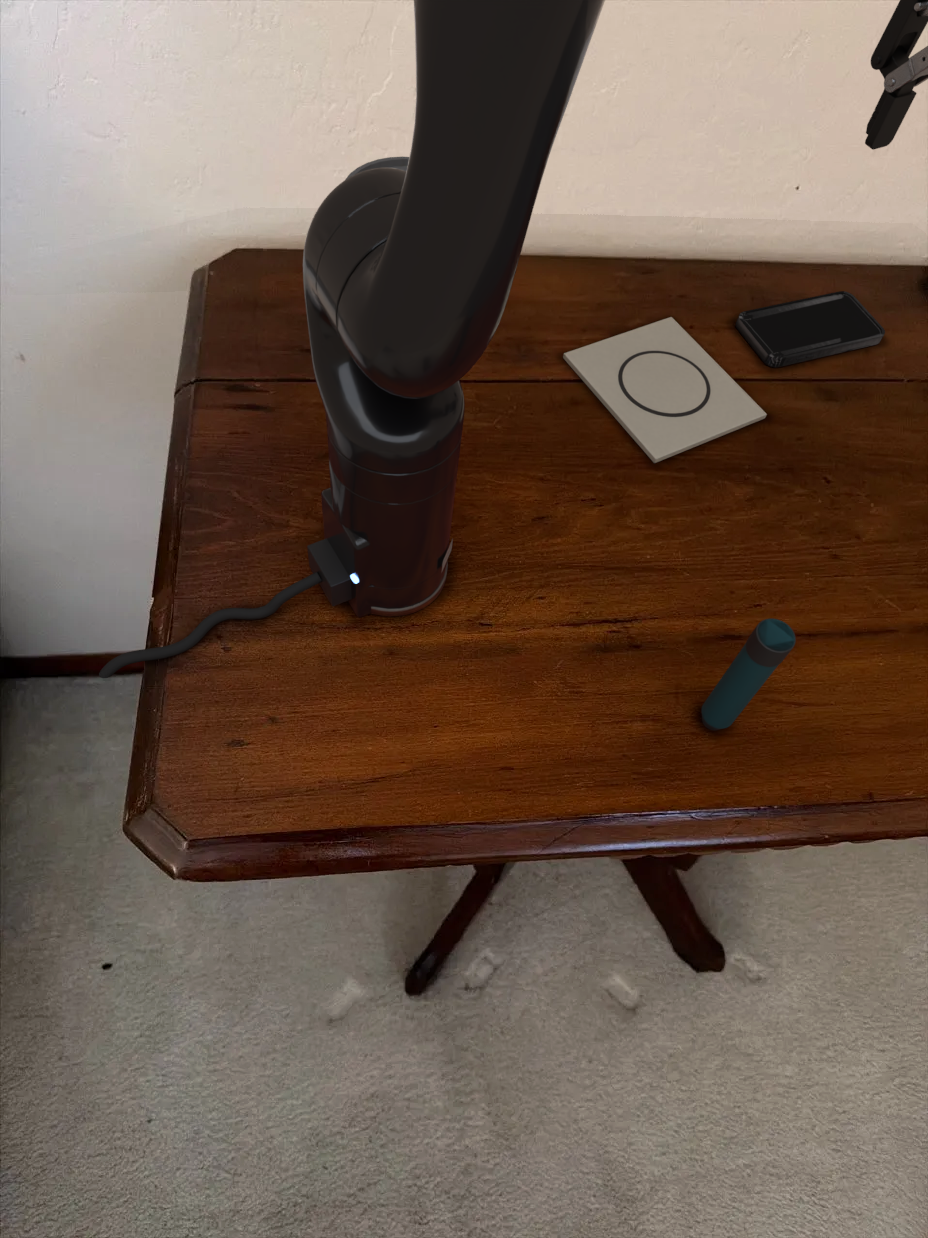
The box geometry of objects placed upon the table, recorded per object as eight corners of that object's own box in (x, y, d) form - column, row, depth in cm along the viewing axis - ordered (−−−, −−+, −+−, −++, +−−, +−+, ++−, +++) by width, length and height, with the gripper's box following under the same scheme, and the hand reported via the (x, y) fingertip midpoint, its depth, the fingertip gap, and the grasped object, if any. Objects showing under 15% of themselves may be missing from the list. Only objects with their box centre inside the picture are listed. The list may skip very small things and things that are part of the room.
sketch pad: (654, 463, 83) (656, 458, 83) (562, 357, 90) (563, 352, 90) (765, 418, 88) (767, 413, 87) (669, 320, 95) (671, 315, 94)
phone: (734, 313, 95) (848, 289, 99) (731, 321, 96) (843, 297, 99) (773, 361, 91) (890, 334, 95) (769, 370, 92) (885, 343, 96)
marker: (710, 741, 68) (774, 658, 57) (688, 713, 69) (747, 627, 58) (736, 727, 69) (804, 642, 58) (715, 699, 70) (778, 612, 59)
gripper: (934, -145, 51) (813, 135, 65) (1136, -37, 45) (955, 246, 59) (1018, -154, 54) (884, 117, 67) (1219, -53, 48) (1028, 222, 61)
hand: (918, 177), depth 63 cm, fingers open, 8 cm apart
